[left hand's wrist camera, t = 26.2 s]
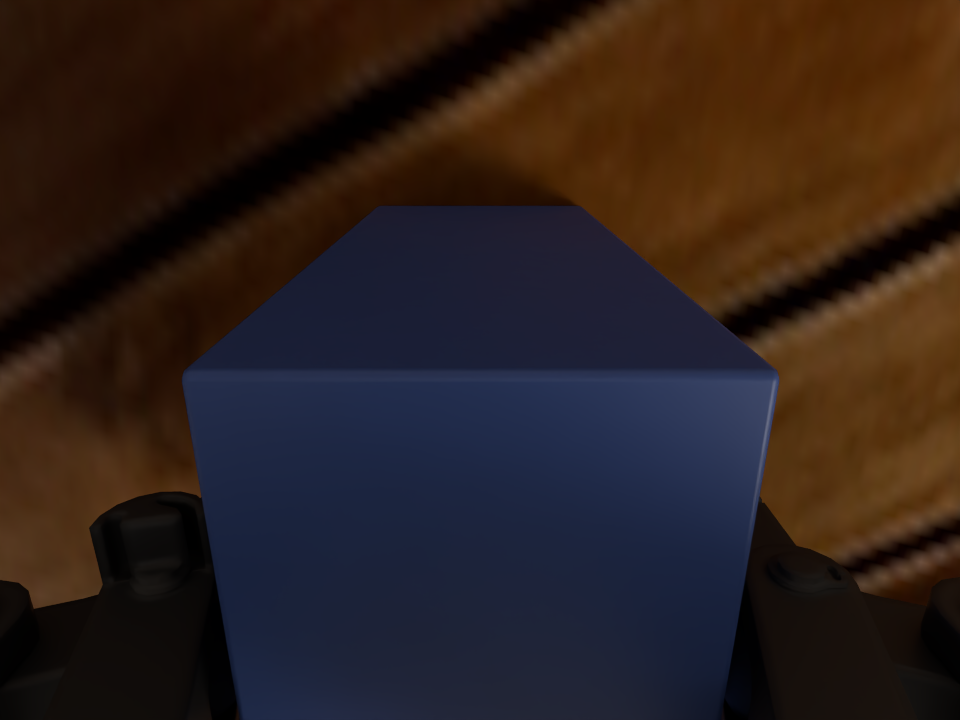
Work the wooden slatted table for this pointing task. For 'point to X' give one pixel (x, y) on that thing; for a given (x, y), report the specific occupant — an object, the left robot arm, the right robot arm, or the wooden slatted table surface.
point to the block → (480, 477)
